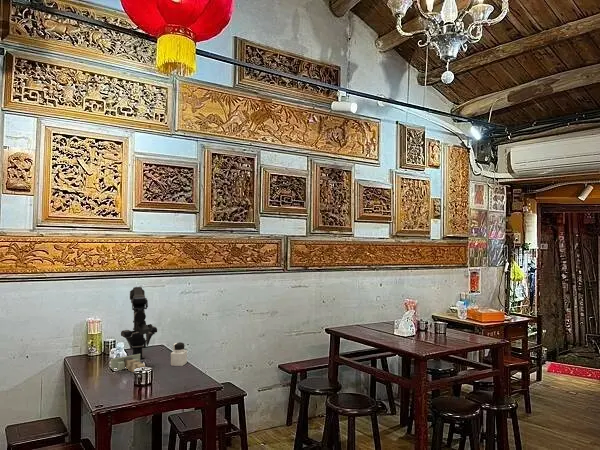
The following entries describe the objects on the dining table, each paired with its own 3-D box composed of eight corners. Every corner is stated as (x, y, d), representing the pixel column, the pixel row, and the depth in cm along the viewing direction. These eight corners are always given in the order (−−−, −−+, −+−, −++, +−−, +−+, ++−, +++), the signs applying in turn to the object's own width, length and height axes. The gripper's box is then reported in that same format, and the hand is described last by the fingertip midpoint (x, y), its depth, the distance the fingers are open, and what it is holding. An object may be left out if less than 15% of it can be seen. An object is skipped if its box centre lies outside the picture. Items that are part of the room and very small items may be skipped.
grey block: (110, 369, 265) (110, 358, 265) (138, 363, 276) (138, 353, 276) (114, 371, 261) (114, 360, 261) (143, 365, 272) (143, 354, 272)
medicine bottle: (187, 362, 277) (187, 341, 277) (182, 366, 270) (182, 344, 270) (175, 362, 278) (175, 341, 278) (170, 365, 271) (170, 344, 271)
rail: (124, 368, 267) (124, 358, 267) (130, 367, 269) (130, 357, 269) (138, 375, 253) (138, 364, 254) (144, 373, 256) (144, 363, 256)
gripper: (128, 323, 255) (128, 353, 255) (161, 318, 267) (161, 346, 267) (120, 320, 263) (120, 349, 263) (152, 316, 276) (152, 343, 276)
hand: (139, 347), depth 267 cm, fingers open, 9 cm apart
